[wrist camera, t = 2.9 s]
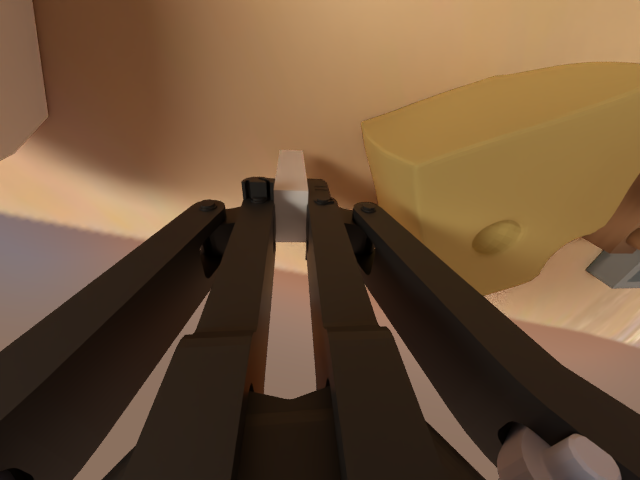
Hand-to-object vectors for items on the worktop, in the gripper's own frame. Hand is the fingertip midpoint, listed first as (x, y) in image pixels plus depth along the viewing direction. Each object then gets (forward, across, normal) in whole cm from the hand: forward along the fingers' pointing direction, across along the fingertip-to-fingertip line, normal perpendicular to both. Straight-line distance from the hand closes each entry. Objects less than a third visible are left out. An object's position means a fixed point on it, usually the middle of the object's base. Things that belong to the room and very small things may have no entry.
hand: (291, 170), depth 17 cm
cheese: (+3, +11, 0) cm, 11 cm away
